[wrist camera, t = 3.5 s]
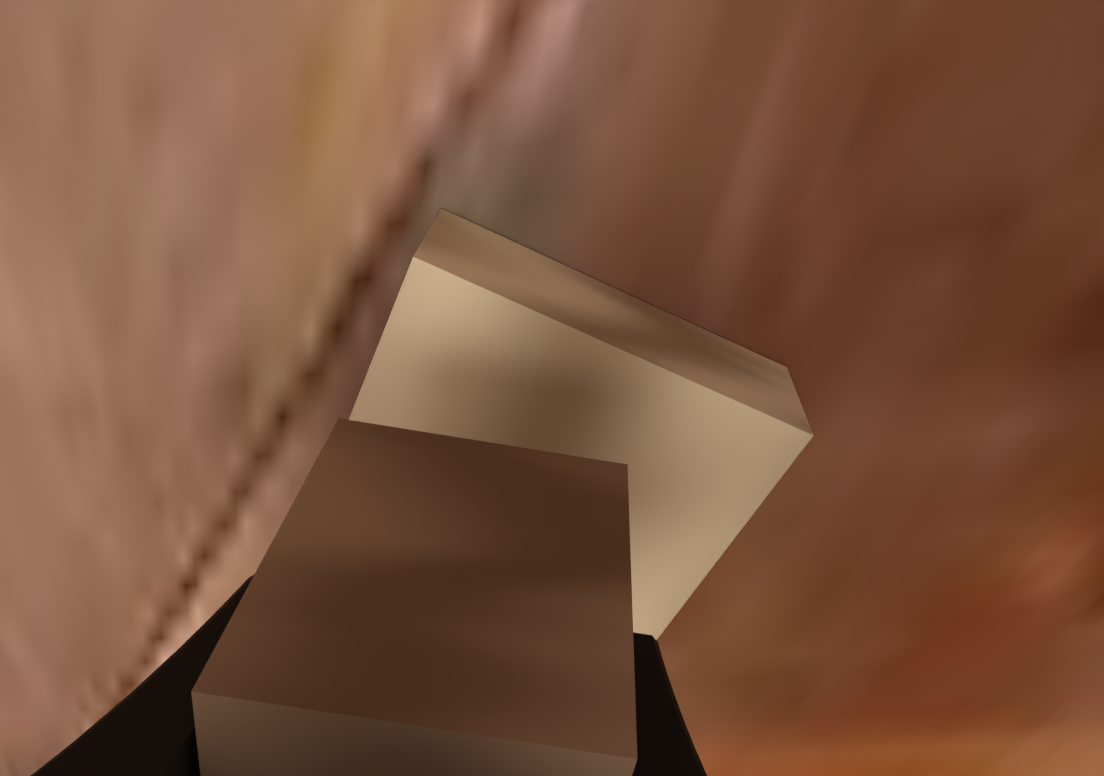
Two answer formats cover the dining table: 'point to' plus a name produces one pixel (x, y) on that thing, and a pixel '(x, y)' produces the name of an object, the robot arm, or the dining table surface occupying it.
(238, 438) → the dining table surface
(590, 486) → the walnut block
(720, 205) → the dining table surface
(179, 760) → the robot arm
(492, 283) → the base block
